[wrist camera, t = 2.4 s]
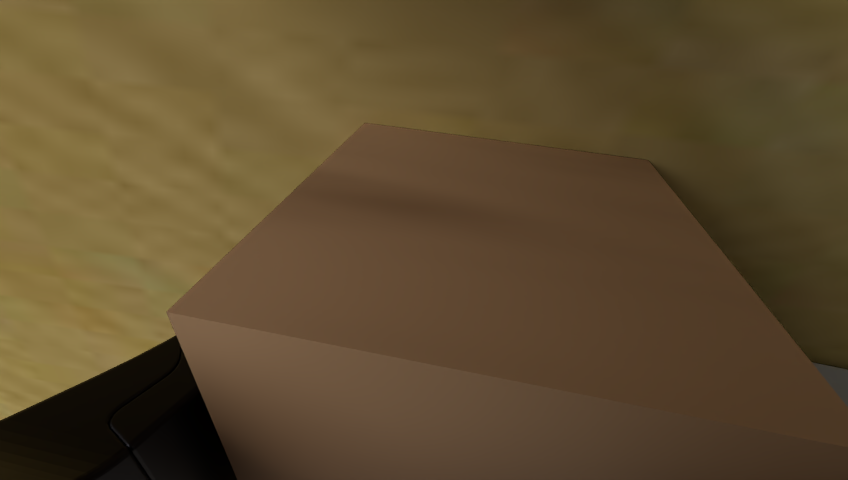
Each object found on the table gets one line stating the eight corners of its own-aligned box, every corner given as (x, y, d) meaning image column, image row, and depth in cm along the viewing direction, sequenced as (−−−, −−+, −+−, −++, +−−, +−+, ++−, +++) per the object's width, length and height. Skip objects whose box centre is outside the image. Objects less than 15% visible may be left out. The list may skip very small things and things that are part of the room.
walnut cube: (565, 353, 11) (612, 642, 6) (367, 316, 12) (267, 551, 7) (647, 160, 8) (885, 454, 3) (364, 122, 8) (166, 311, 4)
